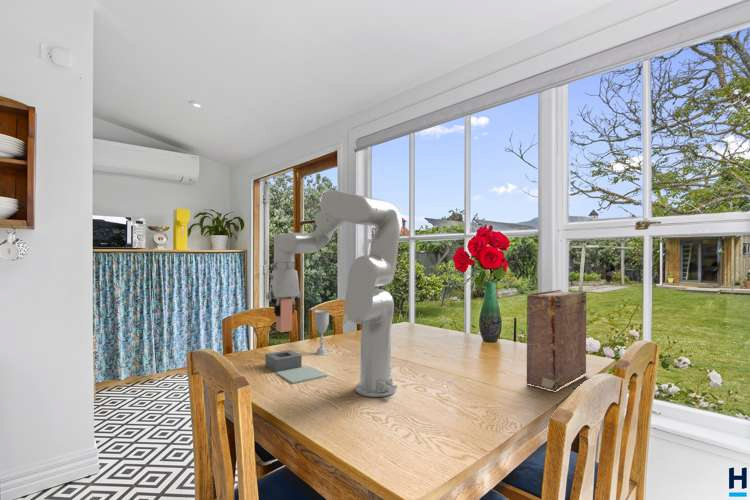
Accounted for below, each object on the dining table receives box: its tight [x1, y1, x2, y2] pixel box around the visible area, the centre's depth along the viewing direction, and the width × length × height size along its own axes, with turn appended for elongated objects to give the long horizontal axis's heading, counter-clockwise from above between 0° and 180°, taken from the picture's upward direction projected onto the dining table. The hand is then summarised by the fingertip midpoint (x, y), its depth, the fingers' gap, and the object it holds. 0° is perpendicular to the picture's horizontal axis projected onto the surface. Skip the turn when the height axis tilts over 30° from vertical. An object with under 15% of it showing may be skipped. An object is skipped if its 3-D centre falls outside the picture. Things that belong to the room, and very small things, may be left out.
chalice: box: [313, 309, 331, 356], centre depth 163 cm, size 7×7×18 cm
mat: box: [275, 365, 328, 385], centre depth 134 cm, size 13×13×1 cm
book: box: [526, 289, 587, 391], centre depth 130 cm, size 25×9×30 cm, turn 131°
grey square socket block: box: [264, 349, 303, 373], centre depth 144 cm, size 10×10×4 cm
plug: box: [275, 297, 293, 333], centre depth 144 cm, size 4×4×12 cm
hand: (284, 314), depth 144 cm, fingers closed on plug, 4 cm apart
